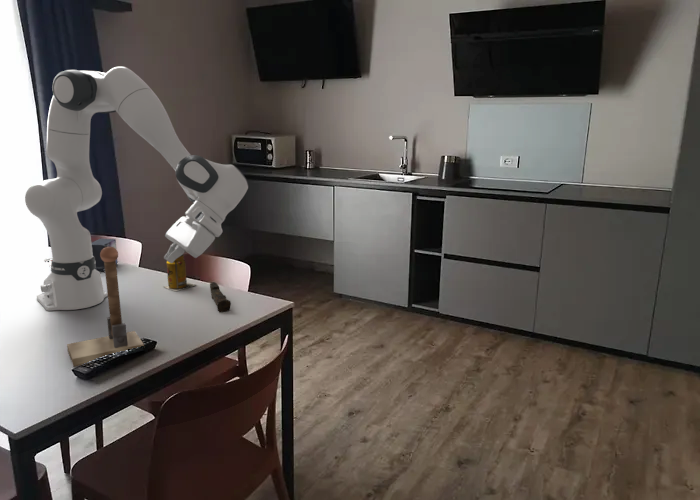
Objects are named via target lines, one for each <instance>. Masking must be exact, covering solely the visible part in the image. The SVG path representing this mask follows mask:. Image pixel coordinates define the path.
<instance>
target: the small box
mask: <svg viewBox="0 0 700 500" xmlns="http://www.w3.org/2000/svg"><path fill="white" fill-rule="evenodd" d="M116 241H117V239H116V238H99V239H96V240H94V241H91V243H92V252H93V256H94V257H95V261H96V268H95V269H96V270H97V271H98V272H104V271H105V266H104V261H103V260H102V259H101V257H100V253H101V251H102V249H103V248H105V247H109V246H110V247H114V248H115V249H116V250H117V242H116ZM117 263H118V259H117V260H116V264H117ZM118 264H119V263H118Z"/></svg>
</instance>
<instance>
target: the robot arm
mask: <svg viewBox="0 0 700 500" xmlns="http://www.w3.org/2000/svg"><path fill="white" fill-rule="evenodd" d="M52 81H53V82H52V94H53V95H52V98H51V101H50V105H49V110H48V116H47V122H46V126H47V127H46V148H45V154H46V157H47V158H48V159H49V160H50V161H52V162H53V164H54V166H55V168H56V178H51V179H50V178H49V179H44V180H42V181H39V182H37V183H35V184H33V185H32V186H31V185H30V187H29V188H28V189H27V191H26V192H25V195H24V196H25V197H24V201H25V202H24V203H25V205H26V207H27V209H28V211H29V212H30V213H31V214H32V215H33V216H34V217H37V219H39V220H40V222H41V223H42V224H43V227H44V228H45V230H46V232H47V234H48V235H47V236H48V239H49V243H50V249H51V256H52V257H51V258H53V260H51V261H52V263H51V267H50V271H51V272H50V273H49V275H47V277H46V278H45V279H44V280H43V284H41V285H40V291H41V293H40V294H38V295H36V300H37V301H38V302H39V303H40V304H41V306H42V307H43V308H44V309H45V310H46V311H60V310H61V311H72V310H74V311H75V310H80V309H81V310H82V309H86V308H90V307H93V306H96V305H98V304H100V303H102V302H103V301H104V300H105V298H106V297H107V298H108V294H107V291H104V285H103V280H102V275H101V271H97V270H96V269H95V268H96V261H95V257H94V256H93V252H92V237H91V236H92V235H91V232H90V230H89V229H87V228H86V227H84V226H83V225H82V223H81V222H80V220H79V216H78V212H82V211H87V210H89V209H91V208H92V207H94V206H95V205H97V204H98V203H99V202H100V201H101V199H102V195H103V191H102V187H101V184H100V183H99V181H98V180H97V179H96V178H95V177H94V175H93V172H92V171H93V170H92V168H91V163H90V140H91V139H90V138H91V121H92V120H91V119H92V117H93V116H94V115H95V114H96V113H101V114H103V115H104V114H111V113H117V114H118V116H119V117H120V118H121V119H122V120H123V122H124V123H125V124H126V125H128V127H130V128H131V130H133V131H134V132H135V133H136V134H137V135H138V136H140V137H141V138H142V139H144V140H145V141H146V142H147V143H148V144H149V145H151V146H152V147H153V148H154V149H155V150H156V151H157V152H158V153H160V154H161V156H162V157H163V158H164V159H165V161H166V162H167V163H168V164H169V165H170V167H171V168H172V170H174V171H175V178H176V181H177V182H178V184H179V186H180V187H181V189H183V191H184V193H185V195H186V197H187V199H188V200H189V201H190V202H191V203H192V204H191V205H190V207H189V208H187V210H186V211H185V212H184V215H185V216H184V215H183V216H181V217H179V218H178V219H177V220H176V221H175V223H173V224H172V225H171V226H170V228H169V229H168V230H167V231H166V232H165V235H164V237H165V238H166V239H168V240H169V241H170V242H172V243H171V244H170V246H169V248H168V250H167V252H166V253H165V254H164V256H163V259H164V260H166V262H167V261H168V262H170V263H173V262H174V261H175V259H177V258H178V257H180V256H181V255H183V254H184V253H188V254H189V255H190V256H192V257H193V258H195V259H197V258H198V257H200V256H201V255H202V254H203V253H204V252H205V251H206V250H207V249H208V248H209V247H210V246H211V245H212V244H213V242H214V241H215V239H216V238H219V237H221V235H222V233H223V228H222V223H223V222H225V220H226V217H227V215H228V214H229V213H230V212H232V211H233V210H234V209H235V208H236V207H237V205H238V204H239V203H240V202H241V200H242V199H243V198H244V197H245V195H246V193H247V191H248V189H249V182H248V179H247V178H246V177H245V174H243V172H242V171H241V170H240V169H239V168H238V166H235V165H233V164H231V163H230V164H224V163H223V164H221V163H218V162H214V161H211V160H209V159H206V158H204V157H203V156H200V155H197V154H191V153H190V152H189V151H188V150H187V149H186V147H185V146H184V144H183V143H182V141H181V140H180V139H179V136H178V135H177V133H176V131H175V128H174V126H173V123H172V122H171V121H172V120H171V119H170V117H169V114H168V112H167V110H166V109H165V106H164V105H163V103H162V101H161V100H160V99H159V97H158V96H157V94H156V93H155V92H154V91H153V90H152V88H151V87H150V86H149V84H148V83H146V82H145V80H143V79H142V78H141V77H140V76H139V75H138V74H136V73H135V72H134V71H133V70H131V69H130V68H128V67H126V66H115V67H112V68H111V69H108V71H107V72H104V71H103V72H101V71H97V70H77V69H66V70H64V71H63V70H62V71H60V72H58V73H57V74H56V76H55V77H54V78H53V80H52ZM183 256H184V255H183Z"/></svg>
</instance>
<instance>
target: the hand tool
mask: <svg viewBox="0 0 700 500" xmlns="http://www.w3.org/2000/svg"><path fill="white" fill-rule="evenodd" d="M209 290H210V294H211V296H210V297H211V299H212V300H214V301H213V302H214V304H215V305H216V308H217V312H218V313H226V312H227V313H228V312H229V311H231V310H230V309H231V306H232V303H231V300H229V299H227V296H226V295H225V294H224V293H223V292H222V291H221V290H220V286H219V285H218V283H216V282H211V283H209Z"/></svg>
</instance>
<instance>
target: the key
mask: <svg viewBox="0 0 700 500" xmlns="http://www.w3.org/2000/svg"><path fill="white" fill-rule="evenodd" d="M50 259H53V257H49V258H45V259H44V260H43V262H44V261H45V263H47V262H46V261H49V262H48V265H49V267H50V266H51V263H52V261H51V260H50Z"/></svg>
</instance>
